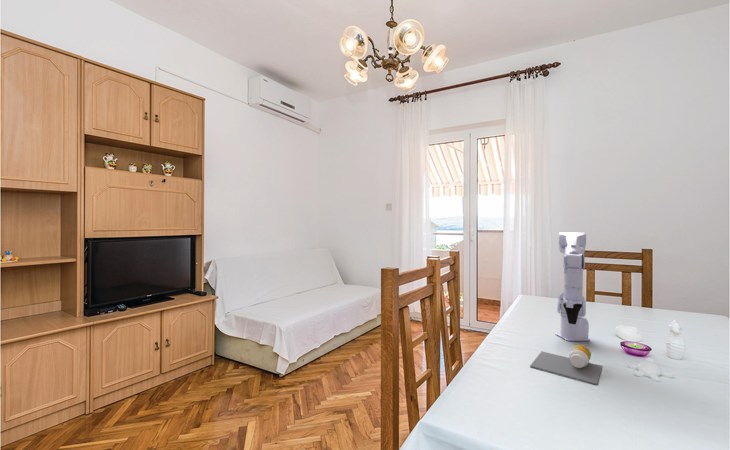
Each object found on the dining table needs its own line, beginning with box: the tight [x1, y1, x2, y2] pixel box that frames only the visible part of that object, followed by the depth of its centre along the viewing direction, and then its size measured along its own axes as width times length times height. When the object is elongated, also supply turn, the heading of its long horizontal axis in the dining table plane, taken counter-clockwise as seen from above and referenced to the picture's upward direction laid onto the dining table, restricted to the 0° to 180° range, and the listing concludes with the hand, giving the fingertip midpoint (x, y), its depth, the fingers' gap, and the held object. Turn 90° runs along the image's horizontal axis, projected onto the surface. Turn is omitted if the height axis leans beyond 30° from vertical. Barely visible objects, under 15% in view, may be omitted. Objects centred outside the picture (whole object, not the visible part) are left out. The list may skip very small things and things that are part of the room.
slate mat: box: [529, 350, 603, 386], centre depth 109 cm, size 16×18×1 cm
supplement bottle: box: [568, 344, 592, 368], centre depth 110 cm, size 5×5×10 cm
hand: (572, 323), depth 121 cm, fingers closed
